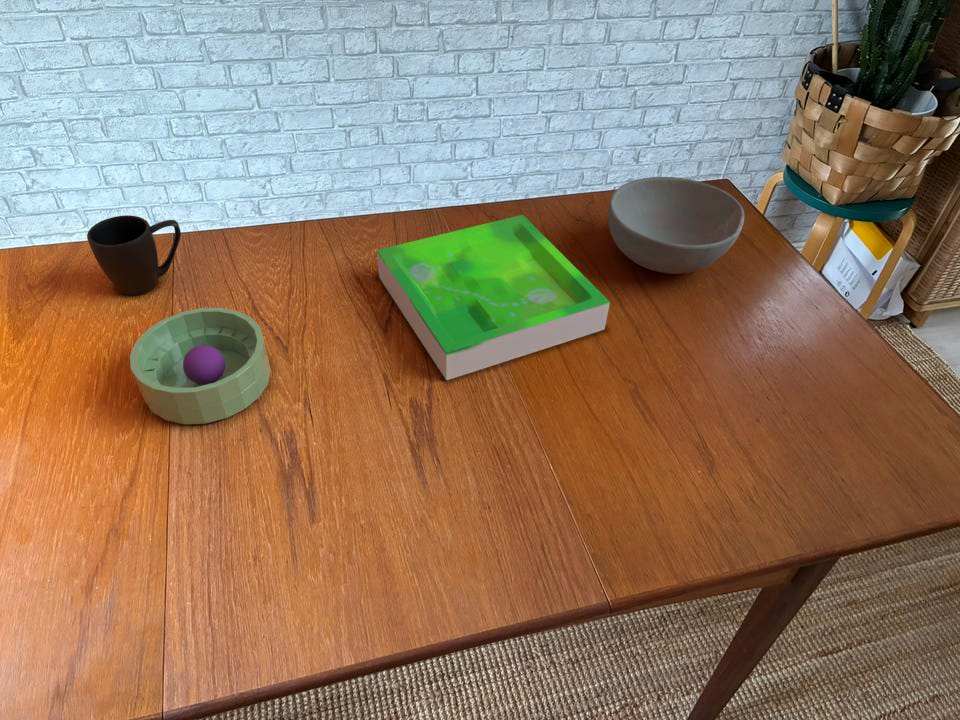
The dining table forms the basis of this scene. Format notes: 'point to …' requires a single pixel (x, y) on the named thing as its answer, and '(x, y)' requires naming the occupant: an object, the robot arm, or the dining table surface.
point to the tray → (489, 294)
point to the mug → (130, 252)
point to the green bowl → (167, 382)
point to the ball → (204, 364)
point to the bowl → (673, 223)
